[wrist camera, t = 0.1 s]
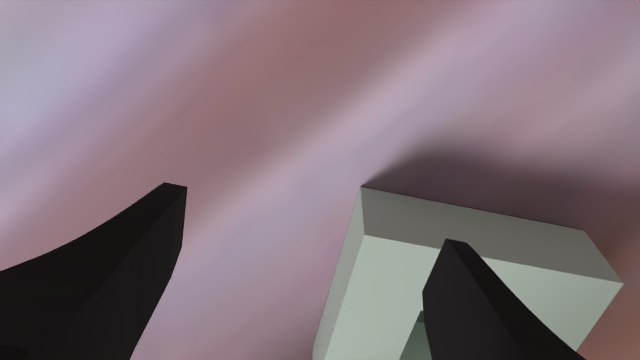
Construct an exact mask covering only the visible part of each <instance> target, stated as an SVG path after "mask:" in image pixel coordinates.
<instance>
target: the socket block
mask: <svg viewBox="0 0 640 360" xmlns="http://www.w3.org/2000/svg"><path fill="white" fill-rule="evenodd" d="M446 238H447V239H452V240H457V241H462V242H467V243H468V244H469V245H470V246H471V247H472V248H473V249H474V250H475V251H476V252H477V253H478V255H479V256H480V257H481V258H482V259H483V260H484V261H485V262H486V263H487V264H488V266H489V267H490V268H491V269H492V270H493V271H494V272H495V273H496V275H497V276H498V277H499V278H500V279H501V280H502V281H503V282H504V283H505V284H506V286H507V287H508V288H509V289H510V290H511V291H512V292H513V293H514V294H515V295H516V296H517V297H518V298H519V299H520V300H521V301H522V302H523V304H524V305H525V306H526V307H527V308H528V309H529V310H530V311H531V312H532V313H533V314H535V315H536V316H537V317H538V318H539V319H540V320H541V321H542V322H543V323H544V324H545V325H546V326H547V327H548V328H549V329H550V330H551V331H552V332H553V333H555V334H556V335H557V336H558V337H559V338H560V339H562V340H563V341H564V342H565V343H566V344H567V345H569V346H570V347H571V348H572V349H573V350H574V351H576V350H577V349H578V348H579V346H580V345H581V343H582V342H583V341H584V339H585V338H586V336H587V335H588V334H589V332H590V331H591V329H592V328H593V326H594V325H595V324H596V322H597V321H598V319H599V318H600V317H601V315H602V314H603V312H604V311H605V310H606V308H607V307H608V305H609V304H610V303H611V301H612V300H613V298H614V297H615V296H616V294H617V293H618V291H619V290H620V289H621V287H622V286H623V284H624V283H623V282H622V280H621V279H620V278H619V276H618V275H617V274H616V272H615V271H614V270H613V268H612V267H611V266H610V264H609V263H608V262H607V260H606V259H605V258H604V256H603V255H602V254H601V252H600V251H599V250H598V248H597V247H596V246H595V244H594V243H593V242H592V240H591V239H590V238H589V236H588V235H587V234H586V232H585V231H584V230H579V229H574V228H569V227H564V226H559V225H554V224H548V223H543V222H538V221H533V220H528V219H523V218H518V217H513V216H507V215H502V214H497V213H492V212H487V211H482V210H477V209H472V208H467V207H461V206H456V205H451V204H446V203H441V202H436V201H431V200H426V199H420V198H415V197H410V196H405V195H400V194H395V193H390V192H385V191H380V190H374V189H369V188H364V187H360V190H359V193H358V196H357V200H356V203H355V206H354V210H353V213H352V217H351V220H350V223H349V227H348V230H347V234H346V237H345V240H344V244H343V247H342V250H341V254H340V257H339V261H338V264H337V267H336V271H335V274H334V278H333V281H332V284H331V288H330V291H329V294H328V298H327V301H326V305H325V308H324V311H323V315H322V318H321V321H320V325H319V328H318V332H317V335H316V338H315V342H314V345H313V358H312V360H432V357H431V353H430V348H429V344H428V339H427V334H426V330H425V325H424V314H423V300H422V291H423V288H424V286H425V284H426V282H427V279H428V277H429V275H430V273H431V270H432V268H433V266H434V264H435V261H436V259H437V257H438V255H439V252H440V250H441V248H442V246H443V243H444V241H445V239H446Z"/></svg>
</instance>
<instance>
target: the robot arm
mask: <svg viewBox="0 0 640 360" xmlns="http://www.w3.org/2000/svg"><path fill="white" fill-rule="evenodd" d="M186 196H187V187H185V186H180V185H175V184H170V183H165V182H164V183H163V184H161V185H159V186H158V187H157V188H155V189H154V190H152V191H151V192H149V193H148V194H147V195H145V196H144V197H142V198H141V199H140V200H138V201H137V202H135V203H134V204H132V205H131V206H129V207H128V208H126V209H125V210H123V211H122V212H120V213H119V214H117V215H116V216H114V217H113V218H111V219H110V220H108V221H106V222H105V223H103V224H101V225H100V226H98V227H96V228H95V229H93V230H91V231H89V232H88V233H86V234H84V235H83V236H81V237H79V238H77V239H75V240H73V241H71V242H69V243H67V244H65V245H63V246H61V247H59V248H57V249H54V250H52V251H50V252H48V253H46V254H43V255H41V256H39V257H36V258H34V259H31V260H28V261H26V262H23V263H21V264H18V265H15V266H13V267H10V268H8V269H5V270H3V271H0V360H130V358H131V356H132V353H133V351H134V349H135V347H136V345H137V343H138V341H139V339H140V337H141V335H142V333H143V331H144V329H145V327H146V325H147V324H148V322H149V320H150V318H151V316H152V314H153V312H154V310H155V308H156V306H157V304H158V302H159V300H160V298H161V296H162V294H163V292H164V290H165V288H166V286H167V284H168V282H169V280H170V278H171V276H172V273H173V270H174V267H175V265H176V262H177V259H178V256H179V253H180V250H181V247H182V239H183V228H184V218H185V207H186ZM422 300H423V314H424V325H425V330H426V334H427V339H428V344H429V348H430V353H431V357H432V360H586V359H584V358H583V357H582V356H580V355H579V354H578V353H577V352H576V351H574V350H573V349H572V348H571V347H570V346H569V345H567V344H566V343H565V342H564V341H563V340H562V339H560V338H559V337H558V336H557V335H556V334H555V333H553V332H552V331H551V330H550V329H549V328H548V327H547V326H546V325H545V324H544V323H543V322H542V321H541V320H540V319H539V318H538V317H537V316H536V315H535V314H533V313H532V312H531V311H530V310H529V309H528V308H527V307H526V306H525V305H524V304H523V302H522V301H521V300H520V299H519V298H518V297H517V296H516V295H515V294H514V293H513V292H512V291H511V290H510V289H509V288H508V287H507V286H506V284H505V283H504V282H503V281H502V280H501V279H500V278H499V277H498V276H497V275H496V273H495V272H494V271H493V270H492V269H491V268H490V267H489V266H488V264H487V263H486V262H485V261H484V260H483V259H482V258H481V257H480V256H479V255H478V253H477V252H476V251H475V250H474V249H473V248H472V247H471V246H470V245H469V244H468V243H467V242H462V241H457V240H452V239H447V238H446V239H445V241H444V243H443V246H442V248H441V250H440V252H439V255H438V257H437V259H436V261H435V264H434V266H433V268H432V270H431V273H430V275H429V277H428V279H427V282H426V284H425V286H424V288H423V291H422Z"/></svg>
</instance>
